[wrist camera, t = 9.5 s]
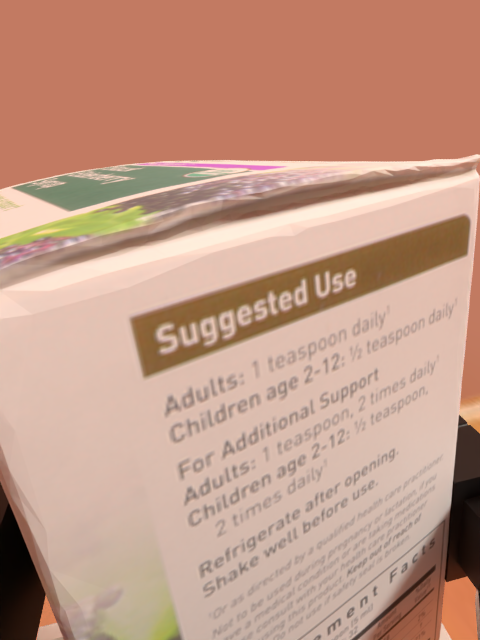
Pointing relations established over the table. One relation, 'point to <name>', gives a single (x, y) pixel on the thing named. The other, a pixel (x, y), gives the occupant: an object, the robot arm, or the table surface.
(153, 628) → the syrup box
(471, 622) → the table surface
